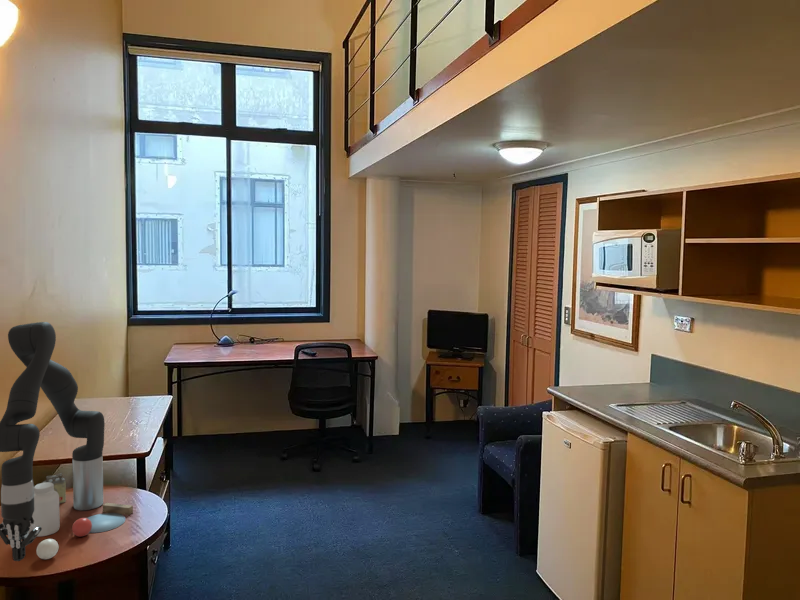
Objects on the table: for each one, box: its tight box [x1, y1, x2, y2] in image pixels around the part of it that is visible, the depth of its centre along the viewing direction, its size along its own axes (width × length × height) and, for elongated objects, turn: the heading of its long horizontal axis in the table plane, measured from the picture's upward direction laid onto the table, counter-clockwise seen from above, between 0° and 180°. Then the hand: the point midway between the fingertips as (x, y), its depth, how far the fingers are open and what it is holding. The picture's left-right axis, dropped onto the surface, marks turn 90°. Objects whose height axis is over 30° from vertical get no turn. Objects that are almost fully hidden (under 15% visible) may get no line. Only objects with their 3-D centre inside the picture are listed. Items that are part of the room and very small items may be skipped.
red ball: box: [71, 517, 92, 538], centre depth 185 cm, size 6×6×6 cm
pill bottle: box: [32, 482, 61, 537], centre depth 187 cm, size 8×8×15 cm
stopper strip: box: [102, 502, 134, 516], centre depth 202 cm, size 10×2×2 cm, turn 79°
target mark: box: [86, 512, 126, 534], centre depth 194 cm, size 14×14×1 cm
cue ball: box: [36, 538, 60, 560], centre depth 171 cm, size 6×6×6 cm
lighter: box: [42, 472, 67, 504], centre depth 208 cm, size 7×4×10 cm, turn 126°
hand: (19, 559), depth 161 cm, fingers closed
